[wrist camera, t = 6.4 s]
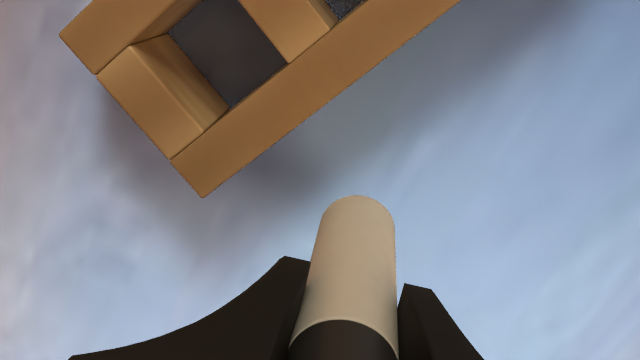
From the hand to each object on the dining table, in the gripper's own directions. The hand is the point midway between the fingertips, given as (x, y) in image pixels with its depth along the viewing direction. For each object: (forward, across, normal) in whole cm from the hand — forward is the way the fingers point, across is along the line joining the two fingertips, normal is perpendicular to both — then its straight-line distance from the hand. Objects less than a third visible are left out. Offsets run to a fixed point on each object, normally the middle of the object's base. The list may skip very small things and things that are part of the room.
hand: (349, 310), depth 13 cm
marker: (+4, 0, 0) cm, 4 cm away
